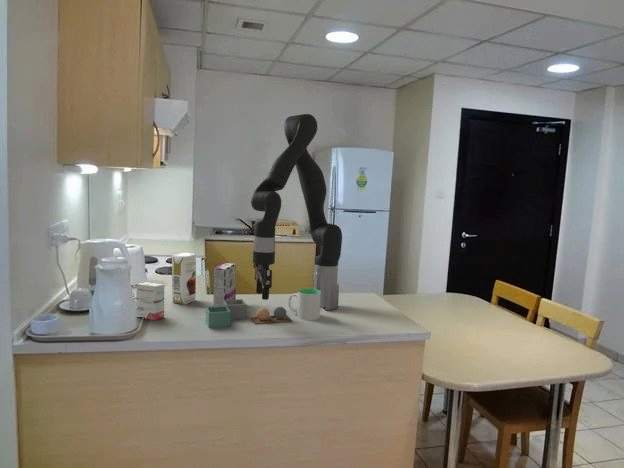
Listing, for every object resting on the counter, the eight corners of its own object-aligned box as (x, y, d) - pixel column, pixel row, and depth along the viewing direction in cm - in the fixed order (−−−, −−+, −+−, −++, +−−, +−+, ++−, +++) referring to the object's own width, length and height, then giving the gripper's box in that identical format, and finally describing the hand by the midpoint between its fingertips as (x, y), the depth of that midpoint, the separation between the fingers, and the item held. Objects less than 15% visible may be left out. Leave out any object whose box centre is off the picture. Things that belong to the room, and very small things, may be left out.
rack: (286, 318, 172) (286, 314, 171) (292, 324, 165) (292, 320, 165) (250, 321, 167) (250, 316, 167) (255, 327, 161) (255, 322, 160)
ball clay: (267, 318, 168) (267, 305, 167) (270, 322, 164) (271, 309, 163) (254, 319, 166) (255, 306, 166) (257, 323, 162) (258, 310, 162)
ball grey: (284, 317, 170) (284, 304, 169) (287, 320, 166) (288, 308, 165) (271, 317, 168) (272, 305, 168) (275, 321, 164) (275, 309, 164)
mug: (283, 319, 170) (284, 291, 169) (291, 313, 178) (292, 286, 177) (315, 324, 167) (316, 295, 165) (322, 317, 174) (323, 290, 173)
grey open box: (242, 315, 174) (242, 299, 173) (246, 320, 167) (246, 304, 166) (222, 316, 171) (223, 300, 170) (226, 322, 165) (226, 305, 164)
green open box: (226, 322, 164) (226, 305, 163) (230, 329, 158) (230, 311, 157) (205, 324, 162) (205, 307, 161) (208, 330, 155) (208, 312, 155)
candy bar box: (223, 303, 188) (224, 262, 186) (235, 304, 187) (236, 263, 185) (212, 311, 177) (213, 267, 175) (225, 312, 176) (225, 268, 174)
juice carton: (169, 302, 186) (169, 254, 184) (182, 297, 194) (183, 251, 192) (185, 305, 183) (185, 256, 181) (198, 300, 191) (198, 253, 189)
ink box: (165, 316, 168) (165, 283, 167) (156, 320, 164) (156, 286, 162) (144, 313, 171) (144, 281, 170) (135, 317, 166) (135, 284, 165)
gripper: (280, 253, 157) (278, 301, 158) (269, 246, 170) (267, 291, 172) (258, 253, 154) (256, 302, 156) (248, 246, 167) (247, 291, 169)
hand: (262, 296), depth 164 cm, fingers open, 8 cm apart
